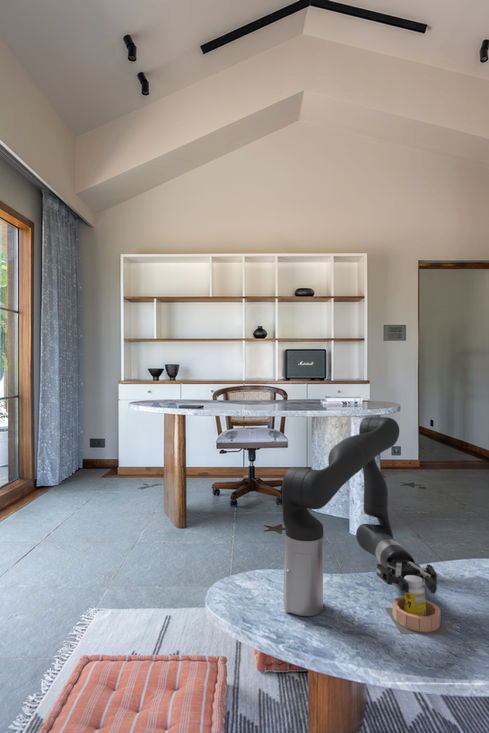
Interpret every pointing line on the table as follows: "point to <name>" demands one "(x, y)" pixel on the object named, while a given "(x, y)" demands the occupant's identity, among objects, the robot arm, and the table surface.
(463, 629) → the table surface
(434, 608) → the bowl
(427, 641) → the table surface
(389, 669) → the table surface
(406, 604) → the supplement bottle
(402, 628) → the mat
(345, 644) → the table surface
